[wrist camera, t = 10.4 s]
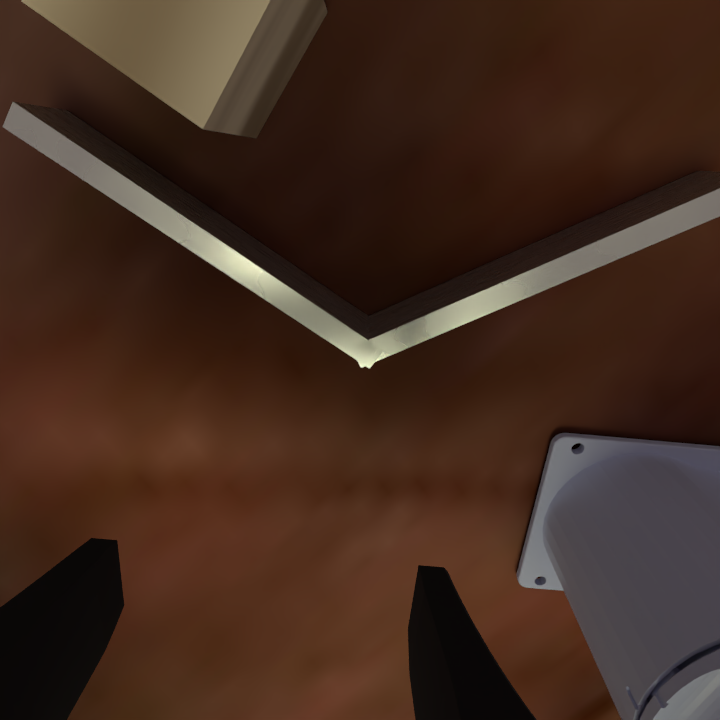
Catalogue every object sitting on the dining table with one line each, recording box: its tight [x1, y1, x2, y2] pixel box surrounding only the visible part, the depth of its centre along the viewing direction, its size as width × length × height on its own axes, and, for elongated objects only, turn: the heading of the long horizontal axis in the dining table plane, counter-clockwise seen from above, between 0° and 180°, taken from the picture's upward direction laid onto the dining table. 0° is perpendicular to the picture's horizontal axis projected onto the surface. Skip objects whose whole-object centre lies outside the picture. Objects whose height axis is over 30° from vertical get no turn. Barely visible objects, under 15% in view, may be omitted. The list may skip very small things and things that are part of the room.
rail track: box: [3, 102, 720, 369], centre depth 16 cm, size 22×17×3 cm
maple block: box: [22, 0, 327, 138], centre depth 13 cm, size 4×4×6 cm
